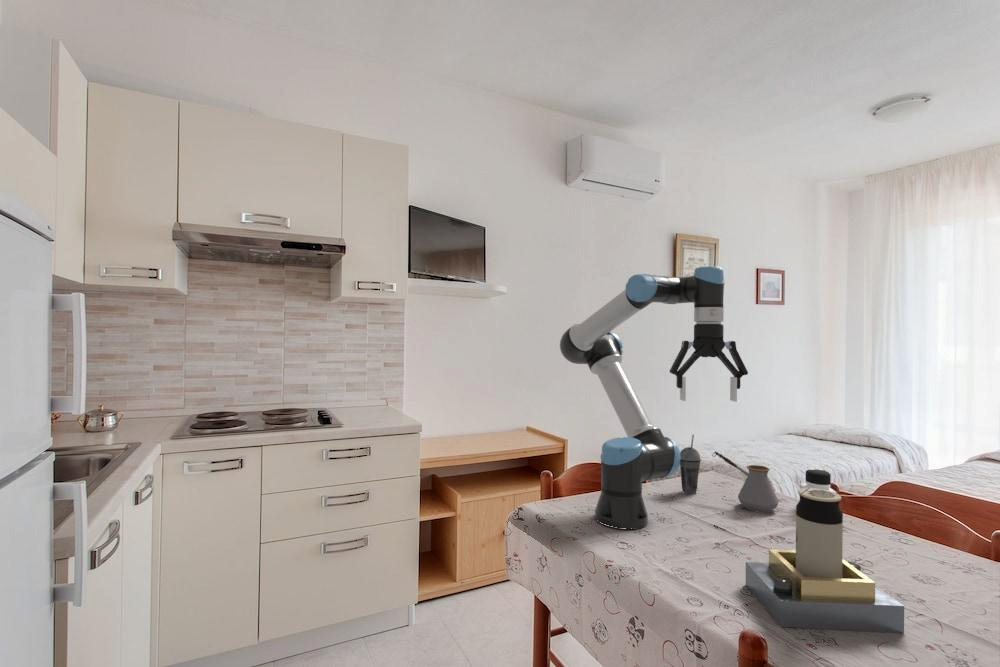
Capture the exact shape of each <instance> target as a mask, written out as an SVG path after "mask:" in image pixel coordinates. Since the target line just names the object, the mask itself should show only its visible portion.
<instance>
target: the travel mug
mask: <svg viewBox="0 0 1000 667" xmlns="http://www.w3.org/2000/svg"><path fill="white" fill-rule="evenodd" d="M797 493H798V495H799V501H798V502H797V504H796V505H795V506H796V507H795V508H796V509H795V550H796V570H797V571H799V572H800V573H801V574H802V575H803V576H804V577H817V578H842V558H843V546H844V545H843V532H844V530H843V529H844V528H843V525H844V523H843V522H844V521H843V520H844V518H843V517H844V514H843V511H842V510H841V508H840V502H841V500H842V496H841V495H840V494H838V492H837V493H834V492H831V491H827V490H823V489H816V488H802V489H800V488H799V489H798V490H797Z"/></svg>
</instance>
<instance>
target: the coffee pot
mask: <svg viewBox="0 0 1000 667" xmlns="http://www.w3.org/2000/svg"><path fill="white" fill-rule="evenodd" d="M714 454H715V455H714ZM716 456H718V457H719V458H720V459H722V460H723V461H724V462H726V463H727V464H729V465H731V466H732V467H734V468H735V469H737V470H739V471H740V472H741V473H743V474H744V475H746V476H747V477H746V478H745V481H744V483H743V485H742V487H741V489H740V491H739V493H738V494H737V495H738V496H737V498H738V501H739V502H740V503H741V505H742V506H744V508H745V509H746V508H747V510H748V509H750V510H749V511H751V510H753V511H752V512H755V511H758V512H757V513H771V512H772V511H773V510H775V509H776V508H777V507H778V505H779V498H778V497H777V494H776V492H775V490H774V488H773V485H772V483H771V481H770V478H769V477H768V474H769V472H770V468H769V467H767V466H765V465H764V466H763V465H757V464H754V465H753V464H750V465H747V466H746V468H747V470H748V471H746V470H744V469H743V468H741V467H739V465H737V464H736V463H735V462H733V461H732V460H731V459H729V458H727V457H726V456H724V455H723V454H721V453H719V452H718V451H714V452H713V453H712V457H716ZM771 510H772V511H771ZM770 511H771V512H770Z"/></svg>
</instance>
